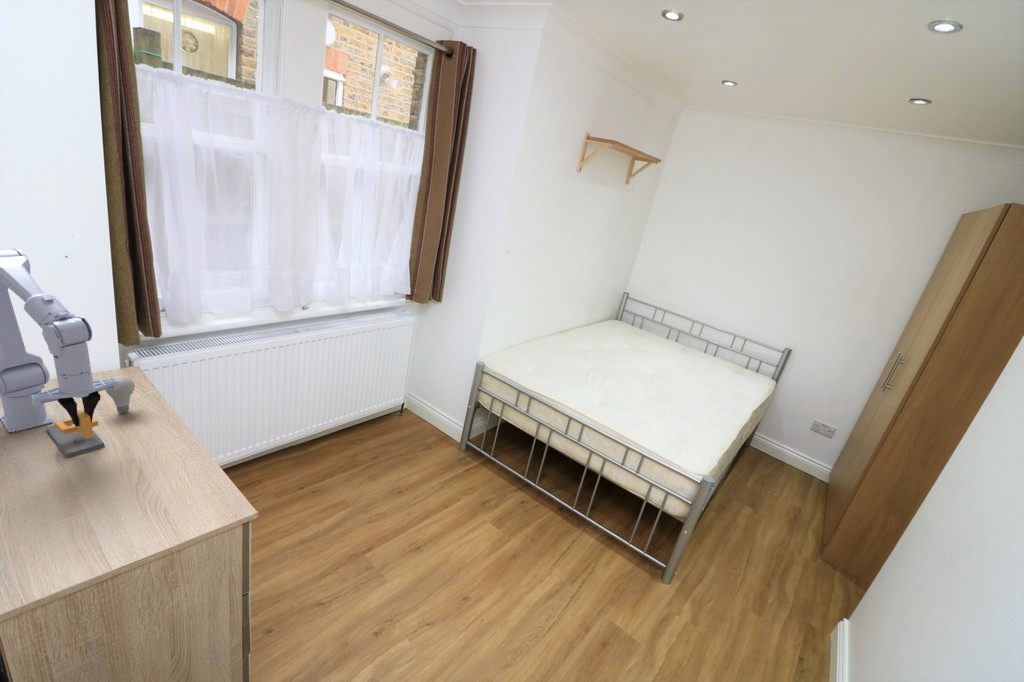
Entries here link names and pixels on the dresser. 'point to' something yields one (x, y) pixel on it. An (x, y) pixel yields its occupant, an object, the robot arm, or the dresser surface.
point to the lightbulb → (122, 393)
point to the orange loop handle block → (83, 429)
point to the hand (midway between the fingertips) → (82, 422)
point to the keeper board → (74, 441)
